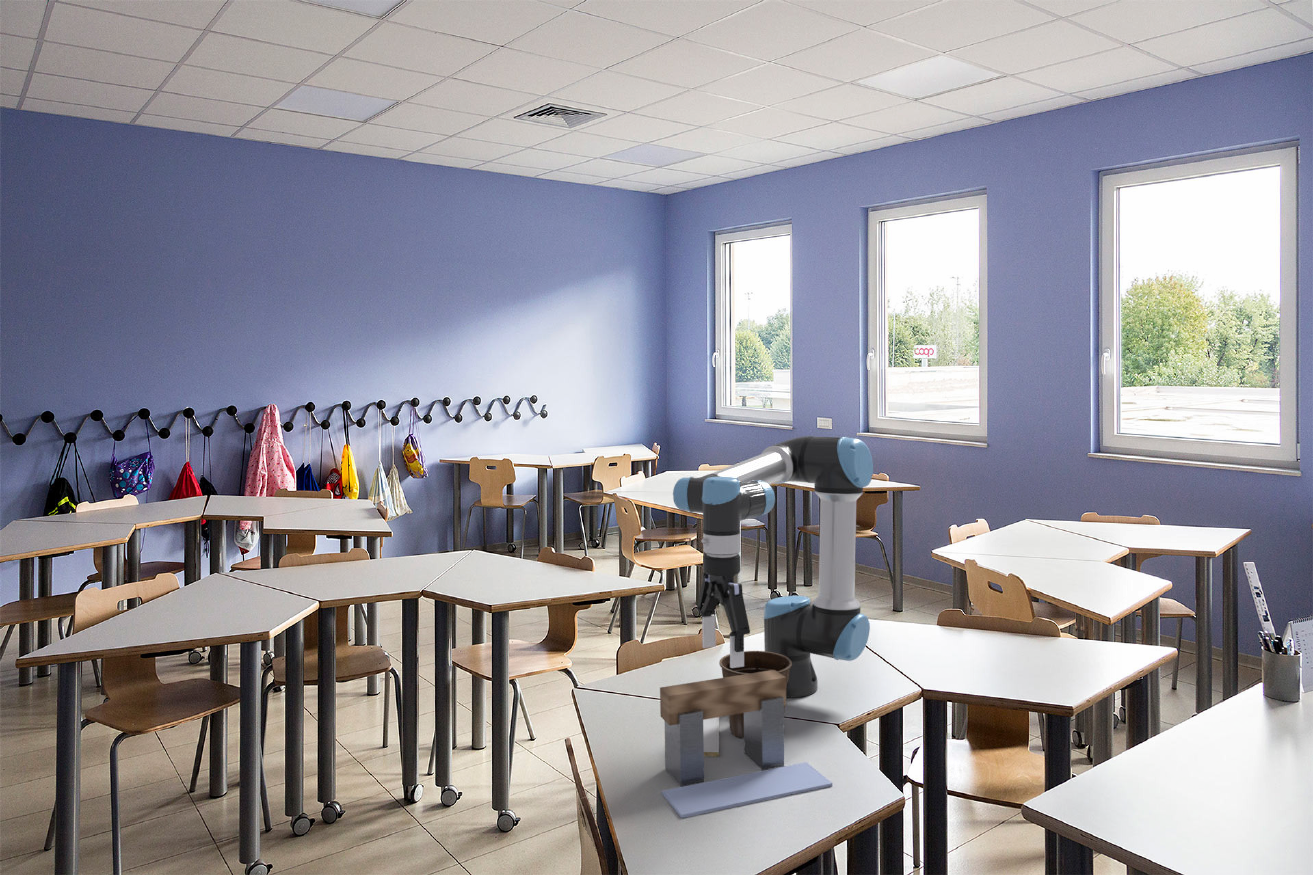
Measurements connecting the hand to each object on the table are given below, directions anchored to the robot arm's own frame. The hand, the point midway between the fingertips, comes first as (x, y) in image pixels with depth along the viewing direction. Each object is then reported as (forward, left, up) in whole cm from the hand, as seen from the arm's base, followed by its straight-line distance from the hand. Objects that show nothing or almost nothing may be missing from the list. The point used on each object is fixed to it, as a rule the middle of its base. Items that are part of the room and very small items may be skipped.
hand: (722, 656), depth 179 cm
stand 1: (+9, 0, -23) cm, 25 cm away
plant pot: (-14, -14, -24) cm, 31 cm away
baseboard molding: (-2, -22, -24) cm, 33 cm away
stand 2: (-9, 0, -23) cm, 25 cm away
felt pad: (0, +10, -23) cm, 26 cm away
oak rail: (0, 0, -11) cm, 11 cm away
